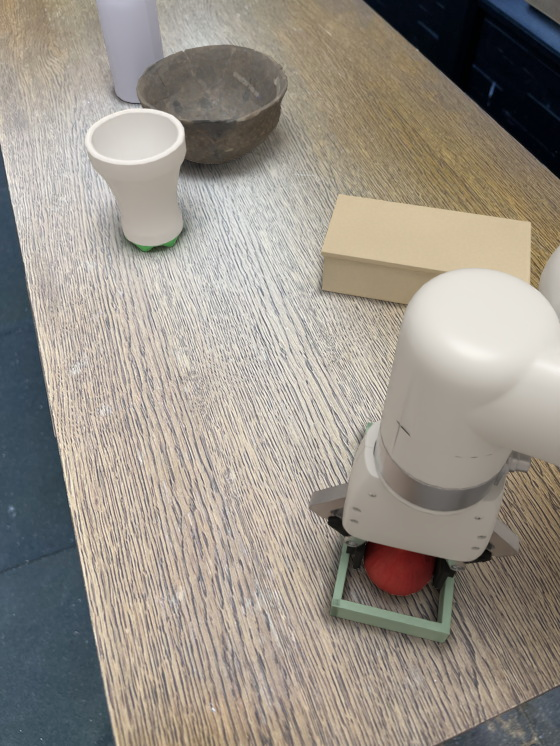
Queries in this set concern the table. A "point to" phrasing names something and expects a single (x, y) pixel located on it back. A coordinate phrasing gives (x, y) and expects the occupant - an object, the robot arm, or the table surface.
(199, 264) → the table surface
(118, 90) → the soap bottle
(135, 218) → the cup
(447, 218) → the beige rectangular box
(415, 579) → the red pomegranate
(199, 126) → the bowl
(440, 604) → the green rectangular frame
